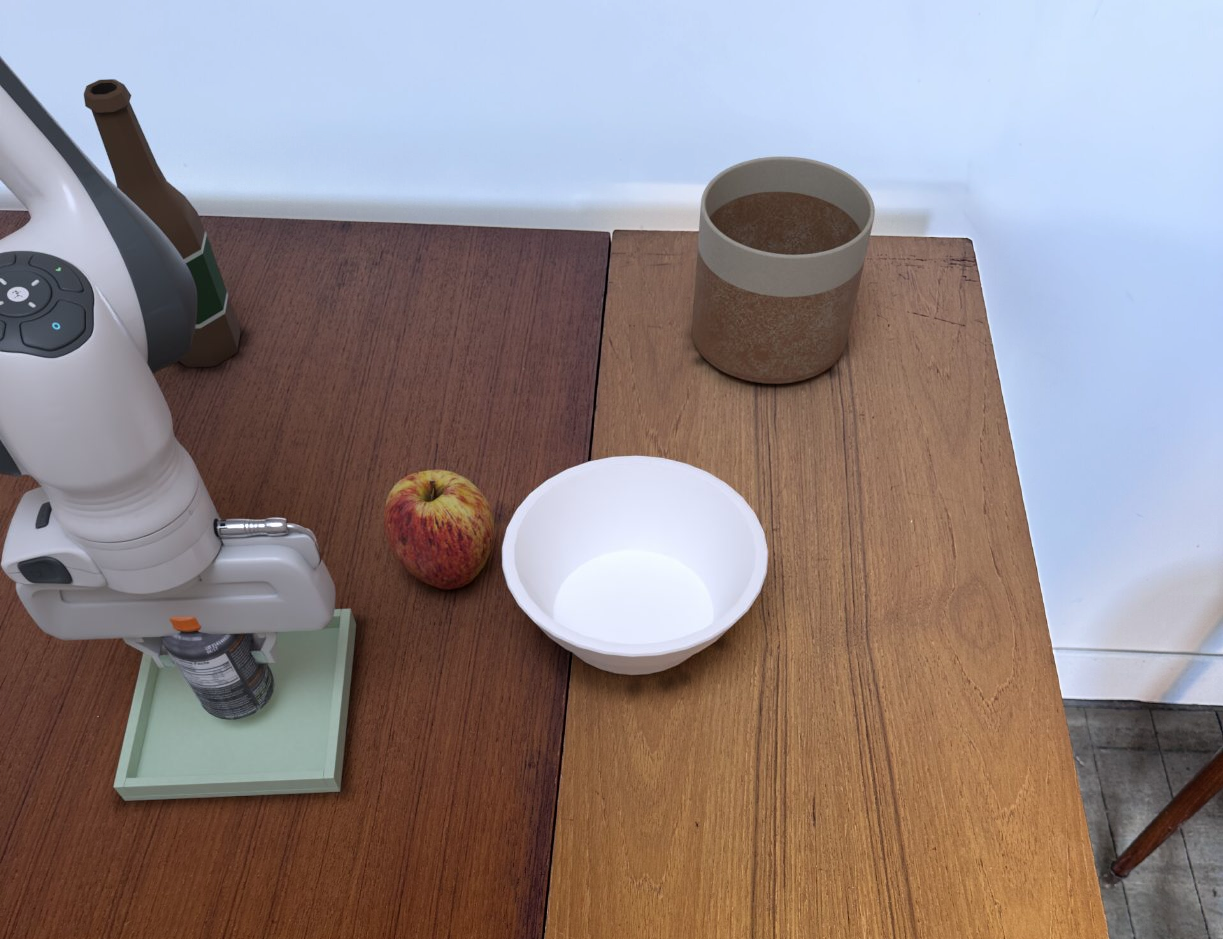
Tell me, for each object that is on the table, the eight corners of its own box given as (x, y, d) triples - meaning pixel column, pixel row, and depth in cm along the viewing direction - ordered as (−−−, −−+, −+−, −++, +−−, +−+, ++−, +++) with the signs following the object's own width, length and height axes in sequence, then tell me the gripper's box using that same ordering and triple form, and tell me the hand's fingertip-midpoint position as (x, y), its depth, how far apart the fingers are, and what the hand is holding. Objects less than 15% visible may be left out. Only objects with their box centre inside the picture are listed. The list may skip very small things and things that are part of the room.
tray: (124, 801, 78) (112, 787, 76) (161, 632, 86) (151, 616, 84) (340, 791, 78) (333, 777, 77) (356, 624, 86) (350, 608, 85)
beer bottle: (220, 377, 102) (118, 118, 81) (153, 361, 103) (35, 102, 82) (257, 330, 106) (168, 71, 85) (192, 315, 107) (88, 56, 86)
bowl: (782, 698, 83) (798, 633, 75) (526, 734, 81) (518, 671, 74) (726, 512, 93) (735, 440, 85) (497, 541, 91) (487, 470, 84)
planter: (659, 335, 105) (665, 200, 93) (765, 272, 110) (783, 136, 98) (771, 412, 99) (792, 279, 87) (877, 341, 104) (911, 206, 92)
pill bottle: (238, 649, 82) (187, 551, 73) (291, 684, 81) (246, 587, 71) (184, 698, 80) (123, 603, 70) (237, 735, 78) (183, 642, 69)
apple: (379, 592, 88) (352, 506, 79) (425, 521, 92) (405, 432, 83) (473, 622, 87) (457, 537, 78) (516, 548, 91) (505, 460, 82)
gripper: (313, 483, 66) (359, 620, 79) (-2, 494, 66) (93, 631, 78) (303, 555, 63) (353, 686, 75) (-27, 568, 63) (77, 698, 75)
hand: (219, 658), depth 77 cm, fingers closed on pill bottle, 6 cm apart
